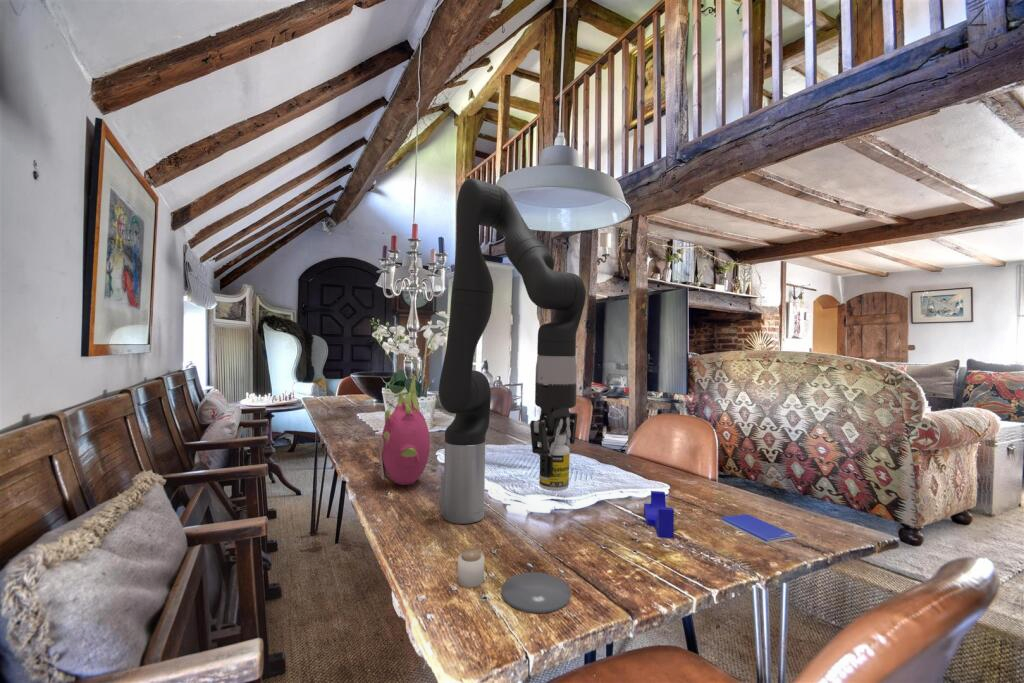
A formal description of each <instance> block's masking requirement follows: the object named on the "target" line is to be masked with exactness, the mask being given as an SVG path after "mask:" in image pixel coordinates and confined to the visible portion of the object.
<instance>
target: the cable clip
mask: <svg viewBox="0 0 1024 683" xmlns="http://www.w3.org/2000/svg"><path fill="white" fill-rule="evenodd" d="M666 506H667V504H666V492H665V491H658V490H657V491H656V490H650V503H648V502H647V503H646V502H645V503H643V516H644V519H645V523H646V525H647V526H654V528H655V532H656V534H657V536H658V538H666V539H674V523H675V522H674V520H675V517H674V516H675V513H674V512H675V510H674V507H668V506H667V507H666Z"/></svg>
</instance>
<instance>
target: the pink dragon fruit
mask: <svg viewBox="0 0 1024 683" xmlns="http://www.w3.org/2000/svg"><path fill="white" fill-rule="evenodd" d="M419 402H420V401H419V400H418V395H417V390H416V376H415V375H412V376H411V383H410V387H409V391H408V393H407V395H406V396H405V397H404V394H403V392H399V393H398V399H397V403H396V406H395V408H394V410H393V412H392V413H391V411H390V410H388V409H387V410H385V412H384V423H385V424H384V427H383V429H382V434H381V437H380V438H379V464H380V469H381V470H380V473H381V480H385V479H386V476H387V475H388V476H389V478H390V479H391V480H392V481H393V482H394V483H395V484H397V485H401V486H409V485H412V484H414V483H415V482H416V481H418V480H419V478H420V477H421V476H422V474H423V473H424V471H425V469H426V466H427V463H428V461H429V456H430V449H431V440H430V439H431V438H430V432H429V429H428V428H429V427H428V424H427V421H426V419H425V416H424V415H423V414H422V412H421V409H420V403H419Z"/></svg>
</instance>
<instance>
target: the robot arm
mask: <svg viewBox="0 0 1024 683" xmlns="http://www.w3.org/2000/svg"><path fill="white" fill-rule="evenodd" d="M514 202H515V201H513V199H512V197H511V195H510V194H509V193H508V191H507V190H506V189H504V187H502V186H499V185H496V184H494V183H492V182H491V183H490V182H487V181H484V180H481V179H477V178H473V177H472V178H471V177H469V178H467V179H465V181H464V182H463V183H462V185H460V188H459V191H458V195H457V200H456V211H455V212H456V216H455V217H456V218H455V219H456V221H455V222H456V224H455V225H456V226H455V227H456V230H455V231H456V232H455V241H456V242H455V258H454V260H455V261H454V270H453V271H454V272H453V279H452V280H453V281H452V285H451V286H452V287H451V294H450V296H451V297H450V309H449V310H450V311H449V312H450V313H449V322H448V330H447V338H446V346H445V351H444V352H445V353H444V359H443V362H442V368H441V373H440V378H439V384H438V397H439V402H440V404H441V407H442V408H443V409H444V410H445V411H446V412H448V413H449V414H455V416H454V419H453V421H452V422H451V423H450V424H449V425H448V426H447V427H446V429H445V430H444V466H443V467H444V468H443V469H444V471H443V473H441V475H440V496H439V497H440V498H439V500H440V504H439V506H440V507H439V509H440V510H439V515H440V516H441V517H443V519H444V520H445V521H447V522H449V523H452V524H461V525H463V524H465V525H466V524H472V523H474V524H475V523H477V522H479V521H482V519H484V518H485V494H486V493H485V490H486V489H485V485H486V484H485V483H486V482H485V480H486V478H485V477H486V475H485V474H486V434H487V432H488V430H489V427H490V426H489V425H490V416H491V402H492V399H491V398H492V393H491V391H492V390H491V385H490V381H489V380H488V378H487V376H486V375H485V374H484V373H482V372H481V371H479V370H473V367H474V366H473V365H474V358H475V352H476V348H477V346H478V343H479V341H480V339H481V338H482V336H483V334H484V331H485V329H486V328H487V326H488V323H489V322H490V321H489V320H490V319H491V315H492V309H493V308H492V306H493V299H494V298H493V297H494V282H493V278H492V275H491V272H490V269H489V267H488V264H487V262H486V259H485V258H484V255H483V252H482V249H481V242H480V229H481V228H480V227H481V226H483V227H486V228H493V229H494V230H496V231H497V232H499V233H500V234H501V235H502V237H504V245H503V246H504V251H505V254H506V257H507V258H508V260H509V262H510V263H511V264H512V266H513V267H514V268H515V269H516V271H517V272H518V274H520V276H521V278H522V282H523V284H524V287H525V290H526V293H527V297H528V299H530V301H531V302H532V303H533V304H534V305H535V306H537V307H538V308H540V309H543V310H554V312H555V313H554V315H553V319H552V321H550V322H547V323H543V324H541V325H540V326H539V327H538V331H537V346H536V347H537V353H536V354H537V357H536V362H535V379H534V381H535V383H534V384H535V385H534V386H535V387H534V388H535V389H534V390H535V391H534V404H535V406H537V407H539V408H540V409H541V410H540V415H539V419H538V420H534V419H533V420H531V421H530V423H529V426H530V438H531V439H530V440H531V450H532V451H531V452H532V454H536V455H538V456H539V476H540V475H541V476H543V477H547V478H549V477H551V476H552V470H553V456H552V454H553V449H554V445H555V444H557V442H558V438H559V435H560V434H563V433H565V434H566V443H565V445H566V446H568V447H569V450H570V449H571V446H572V445H574V444H575V442H576V435H577V434H576V432H577V425H578V424H577V423H578V413H577V412H570V409H572V408H575V407H576V405H577V378H578V375H577V372H578V370H577V368H578V367H577V359H576V356H577V354H576V353H577V352H576V350H577V349H576V348H577V346H576V345H577V332H578V328H579V325H580V323H581V318H582V315H583V311H584V307H585V303H586V299H587V296H586V294H587V292H586V286H585V283H584V281H583V279H582V278H581V277H580V276H579V275H578V274H576V273H572V272H565V271H557V270H554V268H555V260H554V257H553V256H552V254H551V252H550V251H549V250H548V249H547V248H546V246H545V245H544V244H543V243H542V242H541V241H540V240H539V238H537V236H536V235H535V234H534V233H533V232H532V231H531V229H530V228H529V226H528V225H527V223H526V222H525V220H524V218H523V217H522V215H521V213H520V211H519V210H518V208H517V205H516V204H515V203H514ZM547 436H551V437H552V438H547ZM547 443H549V447H547Z"/></svg>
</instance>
